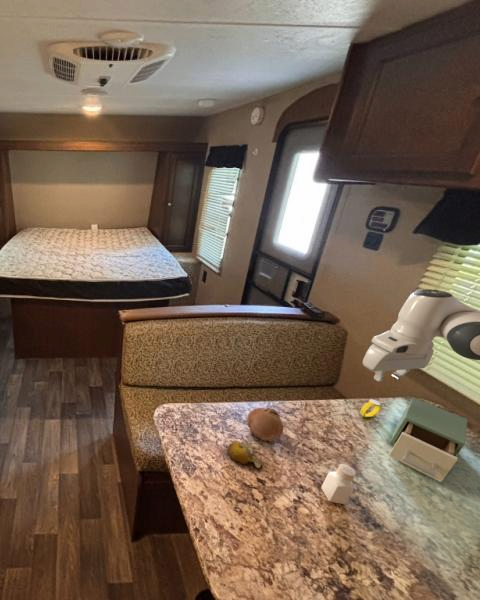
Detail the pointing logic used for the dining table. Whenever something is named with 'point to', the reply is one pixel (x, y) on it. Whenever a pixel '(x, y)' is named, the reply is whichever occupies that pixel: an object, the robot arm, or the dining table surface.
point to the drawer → (425, 451)
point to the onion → (265, 423)
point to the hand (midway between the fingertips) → (386, 379)
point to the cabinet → (433, 422)
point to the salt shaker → (339, 484)
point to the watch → (368, 405)
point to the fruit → (242, 453)
